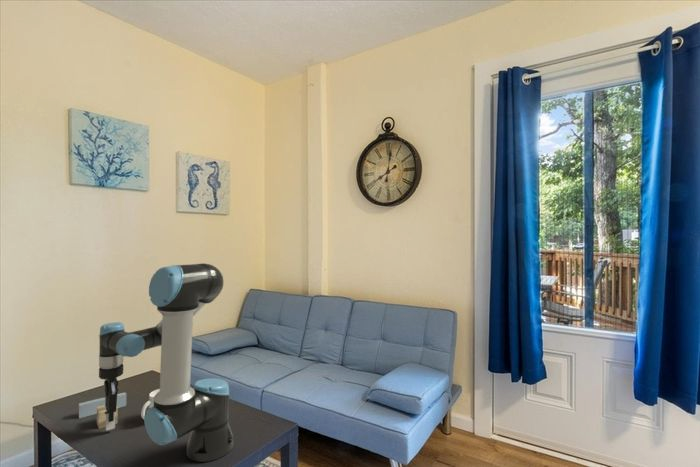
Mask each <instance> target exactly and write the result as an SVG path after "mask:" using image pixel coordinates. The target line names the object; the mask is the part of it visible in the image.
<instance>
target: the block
mask: <svg viewBox="0 0 700 467" xmlns="http://www.w3.org/2000/svg"><path fill="white" fill-rule="evenodd" d="M116 407H117V406H116ZM116 409H117V410H116V412H115V425H117V424H118V422H119V421H118V416H119V415H118V413H119V411H118V410H119V408H116ZM105 412H106V407H105V405H104V406H100V407H97V414H96V425H97V428H98V430H99V429H103V428H106V414H105Z"/></svg>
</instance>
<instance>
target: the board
mask: <svg viewBox="0 0 700 467" xmlns="http://www.w3.org/2000/svg"><path fill="white" fill-rule="evenodd" d="M104 405H105V397H99V398H95V399H91V400H87V401H85V402H79V403H78V419H82V418H86V417H91V416H93V415H97V407H100V406H104ZM123 407H127V393H126V392H121V393H117V408H118V409H119V408H123Z"/></svg>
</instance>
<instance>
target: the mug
mask: <svg viewBox="0 0 700 467" xmlns="http://www.w3.org/2000/svg"><path fill="white" fill-rule="evenodd" d="M159 391H160V388H157V389H155V390H152V391H151V392H149V395H148V401H146V402H145V403H144V404H143V406H142V407H141V411H140V417H141V419H143V420H144V415H145V412H146V411H147V408H148V409H149V408H151V407H153V406H154V396H155V395H156V394H157V393H158V392H159Z"/></svg>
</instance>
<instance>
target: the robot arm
mask: <svg viewBox="0 0 700 467" xmlns="http://www.w3.org/2000/svg"><path fill="white" fill-rule="evenodd" d="M223 287H224V276H223V274H222V272H221V270H220V269H218V268H217V267H216V266H214V265H213V264H210V263H205V262H204V263H195V264H194V263H193V264H191V263H190V264H176V265H175V264H173V265H169V266H163V267H160V268H159V269H157V270H156V271H155V272H154V274H152V277H151V279H150V281H149V284H148V296H149V298H150V299H149V300H150V302H151V303H152V304H153V305H154V306H156V311H158V313H160V314H161V315H162V317H161V318H162V319H161V320H160V321H159V323H157V325H155V326H152V327H149V328H144V329H143V328H142V329H140V330H139V329H138V330H135V331H131V332H130V331H129V332H127V331H125V324H124V323H123V322H119V321H118V322H109V323H104V324H102V325H101V326H100V328H99V334H98V338H99V354H98V367H99V368H98V377H99V379H100V380H104V381H103V385H104V394H105V407H106V412H105V414H106V427H105V431H107V432H108V431H110V430H114V429H116V424H115V412H116V410H117V409H116V408H117V407H116V406H117V394H118V392H119V388H118V386H119V380H118V377H121V376H122V375H123V374H124V364H123V363H124V357H126V358H127V357H128V358H134V357H137V356H138V355H139V354H141V353H142V352H143V351H146V350H149V349H152V348H156V347H161V348H160V349H161V350H160V369H159V370H160V373H159V374H160V375H159V376H160V377H159V389H160V391H159V392H158V393H157V394H156V395H155V396H154V406H153V407H151V408H149V407H148V409H146V410H145V415H144V419H143V420H144V421H143V422H144V427H145V431H146V433H147V435H148V437H149V438H150V440H152V442H154V443H155V444H157V445H158V446H165V445H168V444H171V443H172V442H176V441H177V440H178V439H179V438H181V437H183V436H185V435H187V434H189V433H190V435H189V438H188V441H187V444H186V456H187V458H188V459H190V460H191V461H194V462H199V463H200V462H201V463H202V462H203V463H205V462H211V461H215V460H218V459H220V458H222V457H224V456H226V455H227V454H228V453H230V452H231V450H232V449H233V447H234V435H233V432H232V429H231V425H230V422H229V421H230V420H229V416H230V415H229V413H230V412H229V411H230V409H229V408H230V404H229V403H230V395H231V392H230V388H229V386H230V385H229V383H228V382H227V381H226V380H224V379H221V378H215V377H214V378H211V377H210V378H204V379H203V378H202V379H199V380H196V381H195V382H193V383H194V384H193V386H191V376H192V375H191V374H192V372H191V371H192V348H193V347H192V346H193V324H194V321H193V319H194V316H196V314H197V313H199V311H200V310H201V309H202V308H203V307H204V306H205V305H206V304H211V303H212V302H213V301H214V300H216V299H217V297H218V296H220V294H221V292H222V290H223Z"/></svg>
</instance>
